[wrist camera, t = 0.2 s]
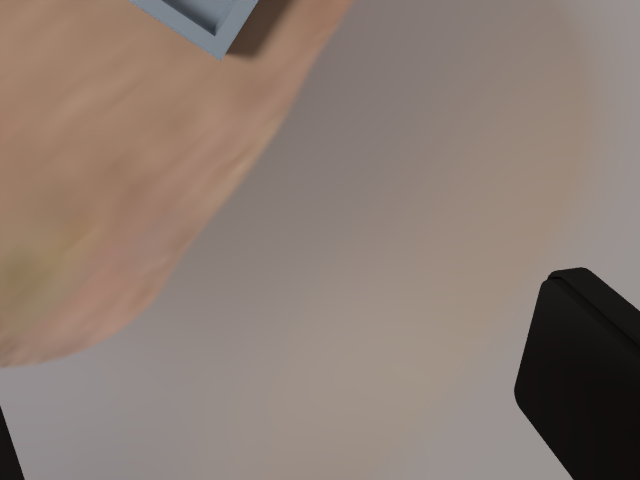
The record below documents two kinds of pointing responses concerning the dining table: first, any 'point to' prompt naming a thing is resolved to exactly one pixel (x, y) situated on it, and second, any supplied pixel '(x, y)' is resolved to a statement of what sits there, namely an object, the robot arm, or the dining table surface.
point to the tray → (202, 20)
